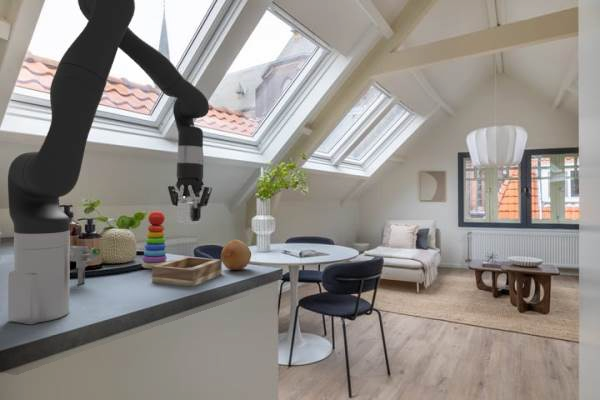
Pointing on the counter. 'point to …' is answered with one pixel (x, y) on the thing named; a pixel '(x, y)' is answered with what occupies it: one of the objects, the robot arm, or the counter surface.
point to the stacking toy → (155, 241)
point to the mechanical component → (83, 259)
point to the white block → (186, 214)
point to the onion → (236, 255)
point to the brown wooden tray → (186, 271)
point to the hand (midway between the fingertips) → (189, 220)
